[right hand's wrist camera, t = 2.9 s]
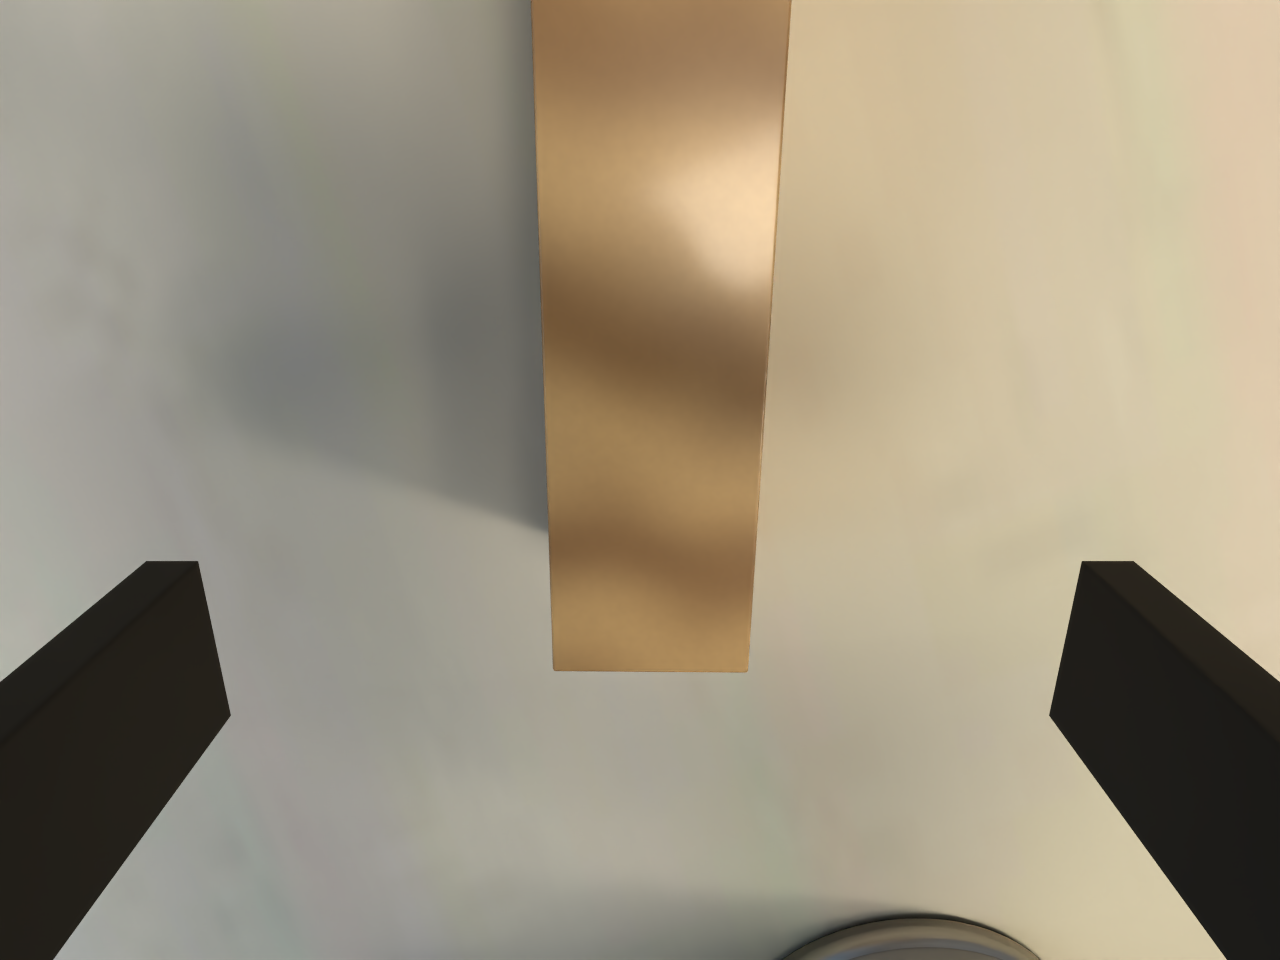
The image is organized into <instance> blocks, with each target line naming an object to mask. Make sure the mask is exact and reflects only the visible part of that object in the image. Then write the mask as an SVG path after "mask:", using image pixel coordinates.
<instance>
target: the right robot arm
mask: <svg viewBox="0 0 1280 960" xmlns="http://www.w3.org/2000/svg"><path fill="white" fill-rule="evenodd" d="M230 716H231V714H230V709H229V705H228V700H227V695H226V691H225V686H224V681H223V676H222V672H221V667H220V662H219V658H218V653H217V648H216V644H215V639H214V634H213V629H212V625H211V620H210V615H209V611H208V606H207V601H206V596H205V592H204V587H203V582H202V578H201V573H200V568H199V563H198V561H146V562H145V563H144V564H143V565H141V566H140V567H139V568H138V569H136V570H135V571H134V572H133V573H132V574H130V575H129V576H128V577H127V578H126V579H124V580H123V581H122V582H121V583H120V584H118V585H117V586H116V587H115V588H113V589H112V590H111V591H110V592H109V593H107V594H106V595H105V596H104V597H103V598H101V599H100V600H99V601H98V602H97V603H95V604H94V605H93V606H92V607H90V608H89V609H88V610H87V611H86V612H84V613H83V614H82V615H81V616H80V617H78V618H77V619H76V620H75V621H74V622H72V623H71V624H70V625H69V626H68V627H66V628H65V629H64V630H63V631H61V632H60V633H59V634H58V635H57V636H55V637H54V638H53V639H52V640H51V641H49V642H48V643H47V644H46V645H45V646H43V647H42V648H41V649H40V650H38V651H37V652H36V653H35V654H34V655H32V656H31V657H30V658H29V659H28V660H26V661H25V662H24V663H23V664H22V665H20V666H19V667H18V668H17V669H15V670H14V671H13V672H12V673H11V674H9V675H8V676H7V677H6V678H5V679H3V680H2V681H1V682H0V960H53V959H54V958H55V956H56V955H57V954H58V952H59V951H60V949H61V948H62V947H63V945H64V944H65V943H66V941H67V940H68V938H69V937H70V936H71V934H72V933H73V932H74V930H75V929H76V927H77V926H78V925H79V923H80V922H81V921H82V919H83V918H84V916H85V915H86V914H87V912H88V911H89V910H90V908H91V907H92V905H93V904H94V903H95V901H96V900H97V899H98V897H99V896H100V894H101V893H102V892H103V890H104V889H105V888H106V886H107V885H108V883H109V882H110V881H111V879H112V878H113V877H114V875H115V874H116V872H117V871H118V870H119V868H120V867H121V866H122V864H123V863H124V861H125V860H126V859H127V857H128V856H129V855H130V853H131V852H132V850H133V849H134V848H135V846H136V845H137V844H138V842H139V841H140V839H141V838H142V837H143V835H144V834H145V833H146V831H147V830H148V829H149V827H150V826H151V824H152V823H153V822H154V820H155V819H156V818H157V816H158V815H159V813H160V812H161V811H162V809H163V808H164V807H165V805H166V804H167V802H168V801H169V800H170V798H171V797H172V796H173V794H174V793H175V791H176V790H177V789H178V787H179V786H180V785H181V783H182V782H183V780H184V779H185V778H186V776H187V775H188V774H189V772H190V771H191V769H192V768H193V767H194V765H195V764H196V763H197V761H198V760H199V758H200V757H201V756H202V754H203V753H204V752H205V750H206V749H207V747H208V746H209V745H210V743H211V742H212V741H213V739H214V738H215V736H216V735H217V734H218V732H219V731H220V730H221V728H222V727H223V725H224V724H225V723H226V721H227V720H228V719H229V717H230ZM1049 716H1050V717H1051V719H1052V720H1053V721H1054V723H1055V724H1056V725H1057V727H1058V728H1059V730H1060V731H1061V732H1062V734H1063V735H1064V736H1065V738H1066V739H1067V741H1068V742H1069V743H1070V745H1071V746H1072V747H1073V749H1074V750H1075V752H1076V753H1077V754H1078V756H1079V757H1080V758H1081V760H1082V761H1083V763H1084V764H1085V765H1086V767H1087V768H1088V769H1089V771H1090V772H1091V774H1092V775H1093V776H1094V778H1095V779H1096V780H1097V782H1098V783H1099V785H1100V786H1101V787H1102V789H1103V790H1104V791H1105V793H1106V794H1107V796H1108V797H1109V798H1110V800H1111V801H1112V802H1113V804H1114V805H1115V807H1116V808H1117V809H1118V811H1119V812H1120V813H1121V815H1122V816H1123V818H1124V819H1125V820H1126V822H1127V823H1128V824H1129V826H1130V827H1131V829H1132V830H1133V831H1134V833H1135V834H1136V835H1137V837H1138V838H1139V839H1140V841H1141V842H1142V844H1143V845H1144V846H1145V848H1146V849H1147V850H1148V852H1149V853H1150V855H1151V856H1152V857H1153V859H1154V860H1155V861H1156V863H1157V864H1158V866H1159V867H1160V868H1161V870H1162V871H1163V872H1164V874H1165V875H1166V877H1167V878H1168V879H1169V881H1170V882H1171V883H1172V885H1173V886H1174V888H1175V889H1176V890H1177V892H1178V893H1179V894H1180V896H1181V897H1182V899H1183V900H1184V901H1185V903H1186V904H1187V905H1188V907H1189V908H1190V910H1191V911H1192V912H1193V914H1194V915H1195V916H1196V918H1197V919H1198V921H1199V922H1200V923H1201V925H1202V926H1203V927H1204V929H1205V930H1206V932H1207V933H1208V934H1209V936H1210V937H1211V938H1212V940H1213V941H1214V943H1215V944H1216V945H1217V947H1218V948H1219V949H1220V951H1221V952H1222V954H1223V955H1224V956H1225V958H1226V959H1227V960H1280V682H1279V681H1278V680H1277V679H1275V678H1274V677H1273V676H1272V675H1271V674H1269V673H1268V672H1267V671H1266V670H1265V669H1263V668H1262V667H1261V666H1260V665H1258V664H1257V663H1256V662H1255V661H1254V660H1252V659H1251V658H1250V657H1249V656H1248V655H1246V654H1245V653H1244V652H1243V651H1242V650H1240V649H1239V648H1238V647H1237V646H1235V645H1234V644H1233V643H1232V642H1231V641H1229V640H1228V639H1227V638H1226V637H1225V636H1223V635H1222V634H1221V633H1220V632H1219V631H1217V630H1216V629H1215V628H1214V627H1212V626H1211V625H1210V624H1209V623H1208V622H1206V621H1205V620H1204V619H1203V618H1202V617H1200V616H1199V615H1198V614H1197V613H1196V612H1194V611H1193V610H1192V609H1191V608H1190V607H1188V606H1187V605H1186V604H1185V603H1183V602H1182V601H1181V600H1180V599H1179V598H1177V597H1176V596H1175V595H1174V594H1173V593H1171V592H1170V591H1169V590H1168V589H1167V588H1165V587H1164V586H1163V585H1162V584H1160V583H1159V582H1158V581H1157V580H1156V579H1154V578H1153V577H1152V576H1151V575H1150V574H1148V573H1147V572H1146V571H1145V570H1144V569H1142V568H1141V567H1140V566H1139V565H1137V564H1136V563H1135V562H1134V561H1082V563H1081V568H1080V573H1079V578H1078V582H1077V587H1076V592H1075V596H1074V601H1073V606H1072V611H1071V615H1070V620H1069V625H1068V629H1067V634H1066V639H1065V644H1064V648H1063V653H1062V658H1061V662H1060V667H1059V672H1058V676H1057V681H1056V686H1055V691H1054V695H1053V700H1052V705H1051V709H1050V714H1049ZM783 960H1040V959H1039V958H1037V957H1036V956H1035V955H1034V954H1033V953H1032V952H1030V951H1029V950H1027V949H1026V948H1024V947H1023V946H1022V945H1020V944H1018V943H1017V942H1015V941H1013V940H1011V939H1009V938H1007V937H1005V936H1003V935H1001V934H998V933H996V932H993V931H991V930H988V929H985V928H981V927H978V926H975V925H970V924H966V923H961V922H955V921H949V920H940V919H926V918H924V919H896V920H886V921H880V922H873V923H868V924H864V925H859V926H855V927H851V928H848V929H845V930H841V931H838V932H835V933H833V934H830V935H828V936H825V937H822V938H820V939H818V940H816V941H814V942H812V943H809V944H807V945H805V946H804V947H802V948H800V949H798V950H797V951H795V952H793V953H792V954H790V955H789V956H787V957H786V958H784V959H783Z"/></svg>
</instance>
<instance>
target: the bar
mask: <svg viewBox="0 0 1280 960" xmlns="http://www.w3.org/2000/svg"><path fill="white" fill-rule="evenodd" d="M790 15H791V0H531V24H532V54H533V84H534V114H535V143H536V173H537V203H538V233H539V263H540V293H541V323H542V353H543V383H544V413H545V442H546V472H547V502H548V532H549V562H550V592H551V622H552V652H553V669H554V671H624V672H747V671H748V661H749V646H750V630H751V615H752V600H753V584H754V569H755V554H756V538H757V523H758V507H759V492H760V477H761V461H762V446H763V430H764V415H765V400H766V384H767V369H768V353H769V338H770V323H771V307H772V292H773V276H774V261H775V246H776V230H777V215H778V200H779V184H780V169H781V153H782V138H783V123H784V107H785V92H786V76H787V61H788V46H789V30H790Z"/></svg>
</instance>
